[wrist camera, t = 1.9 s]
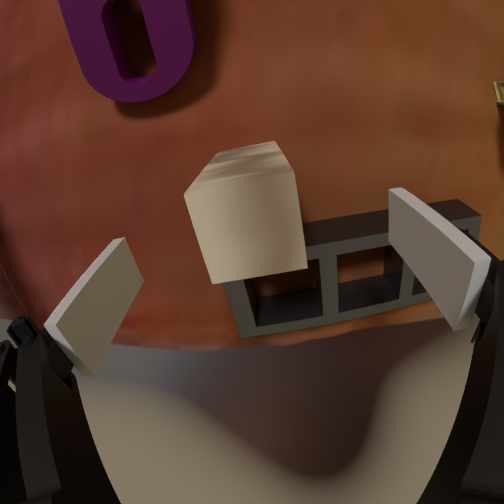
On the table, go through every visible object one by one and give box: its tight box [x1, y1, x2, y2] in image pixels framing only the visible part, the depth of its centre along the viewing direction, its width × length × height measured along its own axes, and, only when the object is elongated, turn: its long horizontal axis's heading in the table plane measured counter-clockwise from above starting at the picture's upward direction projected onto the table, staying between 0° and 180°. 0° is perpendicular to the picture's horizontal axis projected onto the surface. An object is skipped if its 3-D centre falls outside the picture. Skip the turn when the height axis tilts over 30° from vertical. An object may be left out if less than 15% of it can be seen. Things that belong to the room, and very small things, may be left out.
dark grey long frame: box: [223, 199, 482, 338], centre depth 25 cm, size 26×9×4 cm, turn 102°
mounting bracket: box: [58, 0, 197, 102], centre depth 14 cm, size 10×8×18 cm
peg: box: [184, 141, 308, 284], centre depth 18 cm, size 5×5×12 cm
